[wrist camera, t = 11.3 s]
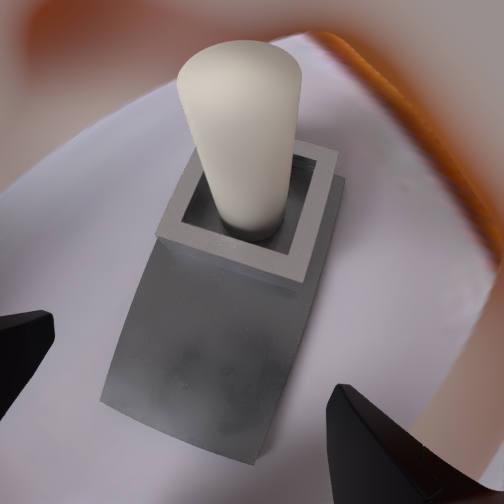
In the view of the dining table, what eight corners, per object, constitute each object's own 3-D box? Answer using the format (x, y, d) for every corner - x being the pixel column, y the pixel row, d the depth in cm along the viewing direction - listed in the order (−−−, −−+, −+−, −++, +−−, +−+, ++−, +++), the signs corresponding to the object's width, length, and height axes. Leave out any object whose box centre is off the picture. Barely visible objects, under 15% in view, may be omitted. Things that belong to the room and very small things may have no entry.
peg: (264, 253, 20) (261, 137, 9) (207, 221, 21) (151, 94, 10) (296, 199, 21) (321, 61, 10) (241, 171, 22) (222, 31, 11)
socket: (253, 460, 18) (251, 484, 14) (106, 399, 19) (77, 407, 15) (342, 184, 23) (355, 155, 19) (205, 146, 24) (197, 114, 20)
